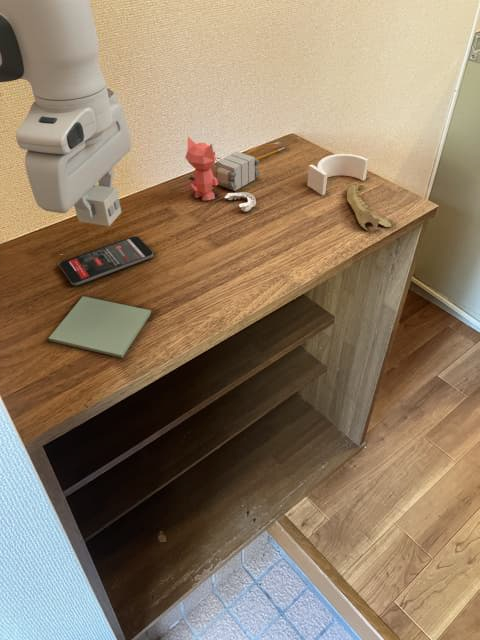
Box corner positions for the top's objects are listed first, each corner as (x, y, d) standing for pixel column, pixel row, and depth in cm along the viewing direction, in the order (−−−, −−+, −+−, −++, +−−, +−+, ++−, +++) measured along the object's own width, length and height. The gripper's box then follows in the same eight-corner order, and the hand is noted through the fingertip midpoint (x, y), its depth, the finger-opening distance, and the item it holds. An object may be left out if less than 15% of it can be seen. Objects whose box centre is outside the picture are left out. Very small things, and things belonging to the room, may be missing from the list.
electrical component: (301, 133, 118) (299, 155, 121) (279, 127, 121) (279, 148, 124) (232, 170, 104) (232, 193, 108) (210, 162, 107) (211, 185, 111)
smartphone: (57, 262, 90) (136, 234, 96) (58, 265, 90) (137, 238, 96) (72, 284, 85) (154, 254, 91) (73, 287, 86) (155, 257, 92)
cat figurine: (227, 194, 108) (225, 138, 99) (206, 208, 104) (202, 151, 95) (201, 184, 111) (197, 129, 103) (179, 198, 107) (173, 141, 99)
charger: (78, 221, 76) (71, 197, 73) (91, 207, 78) (85, 183, 76) (111, 226, 74) (105, 202, 72) (123, 212, 77) (118, 188, 74)
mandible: (396, 226, 97) (385, 240, 99) (362, 182, 109) (353, 195, 111) (374, 216, 95) (363, 230, 96) (342, 172, 106) (332, 185, 108)
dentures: (243, 187, 108) (243, 194, 108) (223, 194, 106) (223, 201, 106) (263, 200, 103) (263, 206, 104) (243, 207, 101) (243, 214, 102)
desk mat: (49, 340, 77) (48, 338, 77) (83, 298, 84) (82, 296, 84) (122, 358, 74) (121, 355, 74) (151, 313, 81) (151, 310, 81)
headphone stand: (324, 175, 104) (369, 159, 109) (305, 163, 108) (349, 148, 113) (322, 195, 107) (365, 179, 112) (304, 183, 111) (346, 168, 116)
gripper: (92, 81, 74) (110, 172, 83) (6, 141, 60) (39, 242, 69) (133, 85, 72) (147, 177, 82) (54, 147, 58) (82, 249, 68)
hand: (97, 207), depth 75 cm, fingers closed on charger, 4 cm apart
